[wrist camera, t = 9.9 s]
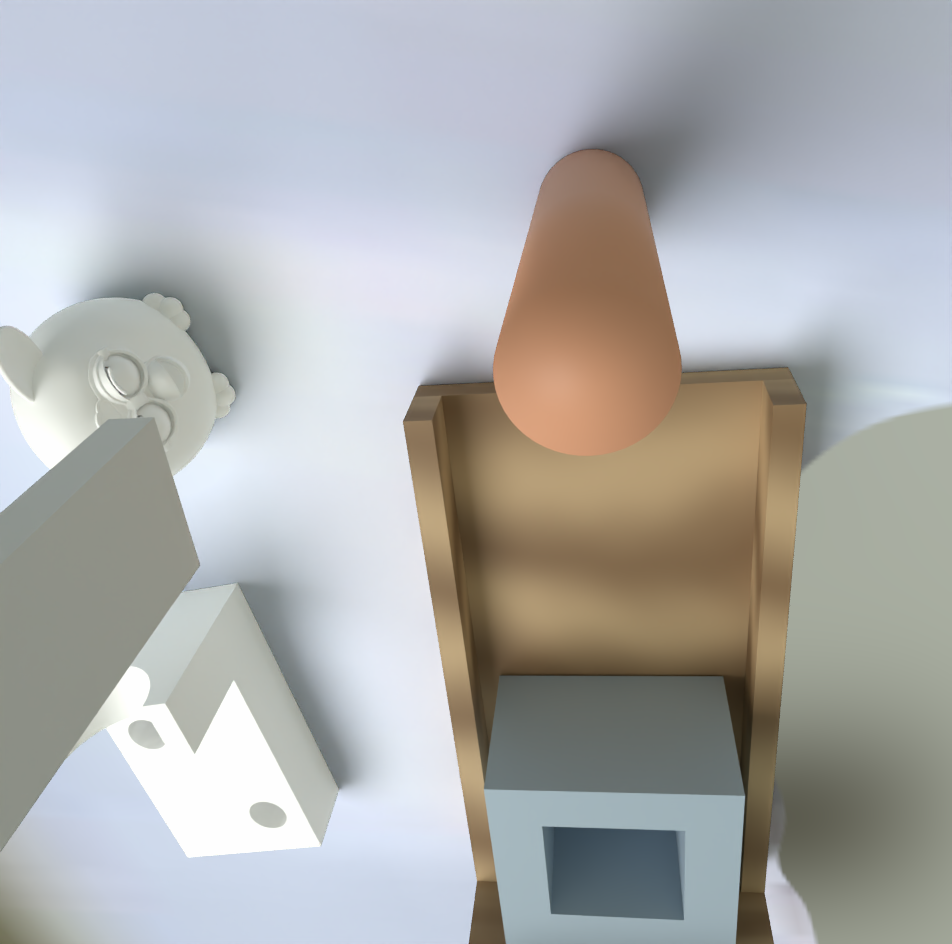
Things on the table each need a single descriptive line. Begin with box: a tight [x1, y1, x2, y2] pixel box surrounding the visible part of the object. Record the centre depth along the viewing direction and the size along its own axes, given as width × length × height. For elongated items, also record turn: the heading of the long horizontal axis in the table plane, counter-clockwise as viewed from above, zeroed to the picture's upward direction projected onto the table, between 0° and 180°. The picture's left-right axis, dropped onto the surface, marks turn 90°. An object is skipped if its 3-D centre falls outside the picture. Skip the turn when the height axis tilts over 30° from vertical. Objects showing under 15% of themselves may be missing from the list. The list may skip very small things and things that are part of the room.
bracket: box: [66, 583, 339, 857], centre depth 38 cm, size 13×7×8 cm, turn 16°
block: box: [484, 676, 745, 944], centre depth 36 cm, size 11×9×6 cm
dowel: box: [493, 149, 682, 456], centre depth 22 cm, size 3×3×14 cm
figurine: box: [0, 293, 235, 476], centre depth 30 cm, size 8×6×7 cm
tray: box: [403, 367, 807, 944], centre depth 32 cm, size 26×13×11 cm, turn 6°
